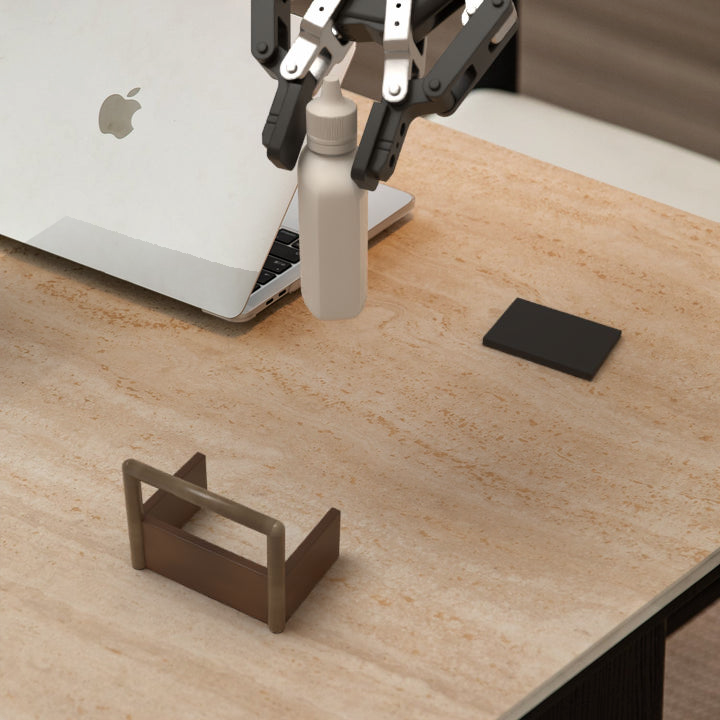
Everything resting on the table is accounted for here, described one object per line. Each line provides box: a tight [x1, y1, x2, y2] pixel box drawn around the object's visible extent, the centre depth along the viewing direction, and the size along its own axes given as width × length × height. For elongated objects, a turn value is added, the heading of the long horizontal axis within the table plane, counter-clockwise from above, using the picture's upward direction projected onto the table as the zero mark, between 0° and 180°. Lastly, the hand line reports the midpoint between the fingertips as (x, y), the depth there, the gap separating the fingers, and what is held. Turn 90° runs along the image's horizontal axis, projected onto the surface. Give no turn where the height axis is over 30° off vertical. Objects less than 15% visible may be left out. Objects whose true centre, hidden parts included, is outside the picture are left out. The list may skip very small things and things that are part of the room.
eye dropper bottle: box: [296, 74, 369, 321], centre depth 61 cm, size 4×6×12 cm
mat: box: [481, 297, 623, 382], centre depth 86 cm, size 8×6×1 cm
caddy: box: [121, 451, 342, 634], centre depth 66 cm, size 10×7×7 cm
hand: (321, 173), depth 59 cm, fingers closed on eye dropper bottle, 3 cm apart
